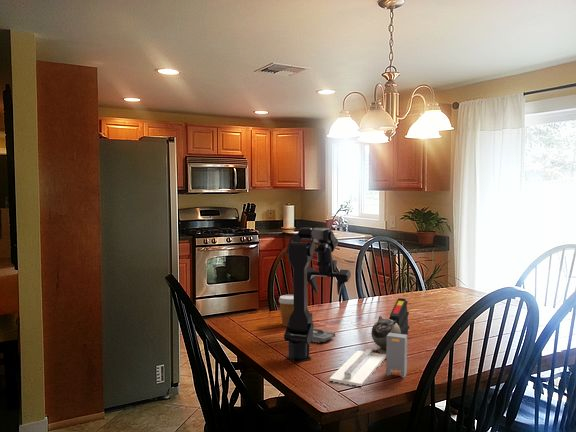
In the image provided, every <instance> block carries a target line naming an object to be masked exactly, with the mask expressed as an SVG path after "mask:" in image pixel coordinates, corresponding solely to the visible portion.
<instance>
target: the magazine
mask: <svg viewBox="0 0 576 432" xmlns="http://www.w3.org/2000/svg"><path fill="white" fill-rule="evenodd" d="M407 304H408V300H407V299H406V298H400V297H399V298H397V300H396V302H395V304H394V306H393V308H392V310H391V312H390V314H389V317H388V319H390V320H392V321H394V320H397V322H396V323H397V324H398V326H399V328H400V331H401V334H404V335H407V336H408V335H409V330H410V325H409V317H408V316H409V315H410V313H409V312H410V311H408V305H407Z"/></svg>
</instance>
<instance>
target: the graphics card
mask: <svg viewBox="0 0 576 432" xmlns="http://www.w3.org/2000/svg"><path fill="white" fill-rule="evenodd" d="M291 335H294V336H302V337H306V336H303V335H295V334H291ZM335 337H336V333H335V332H332V331H329V330H323V329H320V328H319V329H318V328H313V337H312V341H311V342H313V343H317V342H318V344H319V343H322V342H323V343H324V342H327V341H330V340H331V339H333V338H335Z"/></svg>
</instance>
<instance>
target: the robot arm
mask: <svg viewBox="0 0 576 432" xmlns="http://www.w3.org/2000/svg"><path fill="white" fill-rule="evenodd" d="M302 240H311V242H307V241H305V242H303V241H302ZM315 243H318V245H317V246H316V244H315ZM338 244H339V239H338V238H337V237H336V235H335V234H334V232H333V231H332V228H331V227H314V228H312V227H301V228H299V229H298V231H297V233H296V234H295V235H294V236H292V237H291V238H290V240H289V242H288V245H287V248H286V253H287V256H288V257H287V258H288V263H290V266H291V268H292V271H293V274H292V276H293V277H292V278H293V282H292V283H293V286H292V287H293V292H292V295H294V310H293V312H292V314H291V315H290V317H289V322H288V324H287V327H286V328H285V332H284V335H283V339H284V342H288V355H285V358H286V359H288V360H289V361H292V362H294V363H301V362H305V361H308V360H311V359H312V357H311V356H310V343H311V342H313V341H312V337H313V328H314V326H315V325H314V323H313V316H314V315H313V313H312V312H311V311H309V310H308V284H309V285H310V286H311V287H312V289H313V291H314V292H315V294H318V293H319V288H318V284H317V283H318V281H317V277H324V278H325V277H326V278H336V280H337V282H336V287H337V288H336V289H337V295H338V296H339V295H340V294H341V290H342V287H343V285H344V284H345V283H348V282H349V280H350V278H351V277H352V274H351V271H350V269H343V268H342V269H340V270H339V272H336V268H337V261H338V260H337V259H334V258H333V255H332V253H333V252H334V250H336V249H337V246H338ZM314 252H316V255H317V257H316V258H317V263H316V266H317V267H318V270H316V268H315V267H309V265H310V263H311V262H312V260H313V254H315V253H314ZM291 334H295V336H294V335H291ZM296 335H303V336H306V337H302V336H296Z"/></svg>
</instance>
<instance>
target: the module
mask: <svg viewBox="0 0 576 432" xmlns="http://www.w3.org/2000/svg"><path fill="white" fill-rule="evenodd" d="M385 359H386V361H385V362H386V363H385V364H386V365H385V368H386V369H385V371H386V372H385V375H386V376H388V375H390V376H391V374H392V373H393V370H395V371H400V378H401V377H402V378H401V379H405V378H404V377H406V376H407V375H406V374H408V335H404V334H396V333H389V334H388V335H387V349H386V358H385ZM391 372H392V373H391Z"/></svg>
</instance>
